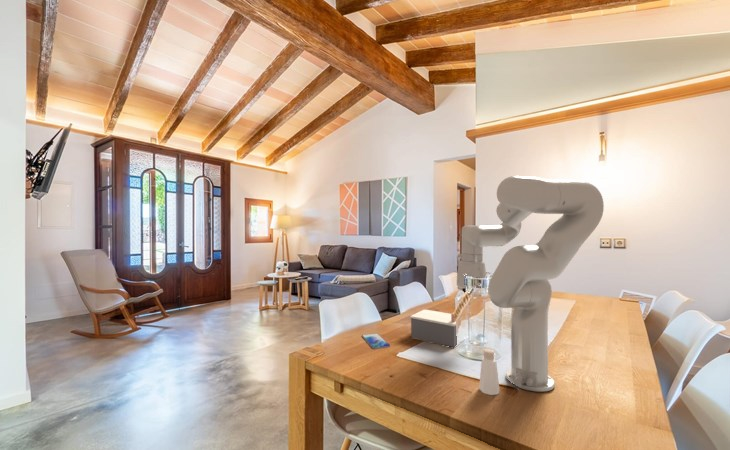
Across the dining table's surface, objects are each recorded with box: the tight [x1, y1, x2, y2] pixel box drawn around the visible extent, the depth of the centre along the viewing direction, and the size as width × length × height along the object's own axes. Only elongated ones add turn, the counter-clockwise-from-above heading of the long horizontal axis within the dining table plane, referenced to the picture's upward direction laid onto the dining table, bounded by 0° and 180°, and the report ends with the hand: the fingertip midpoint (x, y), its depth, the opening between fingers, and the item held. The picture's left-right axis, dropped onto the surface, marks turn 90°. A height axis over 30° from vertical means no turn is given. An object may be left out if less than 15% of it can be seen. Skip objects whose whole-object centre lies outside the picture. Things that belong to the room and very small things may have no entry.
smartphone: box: [361, 333, 391, 350], centre depth 126 cm, size 7×1×15 cm
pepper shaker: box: [478, 348, 501, 396], centre depth 88 cm, size 5×5×11 cm
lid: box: [409, 309, 456, 326], centre depth 128 cm, size 12×18×4 cm
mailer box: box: [410, 318, 457, 349], centre depth 128 cm, size 12×18×8 cm, turn 53°
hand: (471, 306), depth 120 cm, fingers closed
